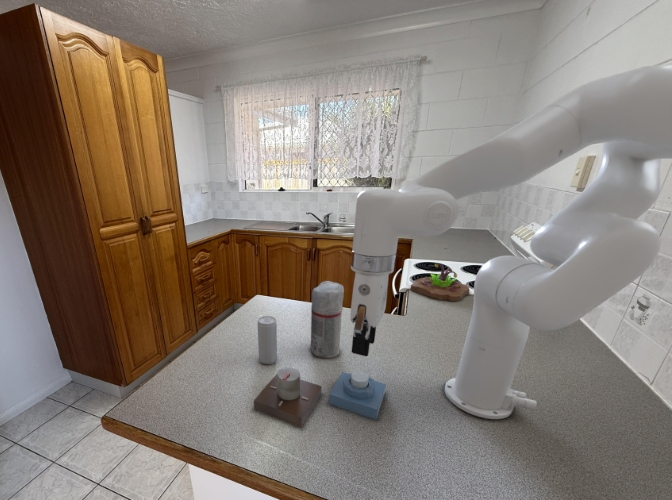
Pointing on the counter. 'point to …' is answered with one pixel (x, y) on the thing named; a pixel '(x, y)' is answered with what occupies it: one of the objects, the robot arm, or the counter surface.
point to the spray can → (326, 319)
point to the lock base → (288, 402)
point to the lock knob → (288, 383)
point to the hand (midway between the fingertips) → (363, 346)
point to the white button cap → (359, 380)
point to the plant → (441, 286)
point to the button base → (358, 396)
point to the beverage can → (267, 339)
